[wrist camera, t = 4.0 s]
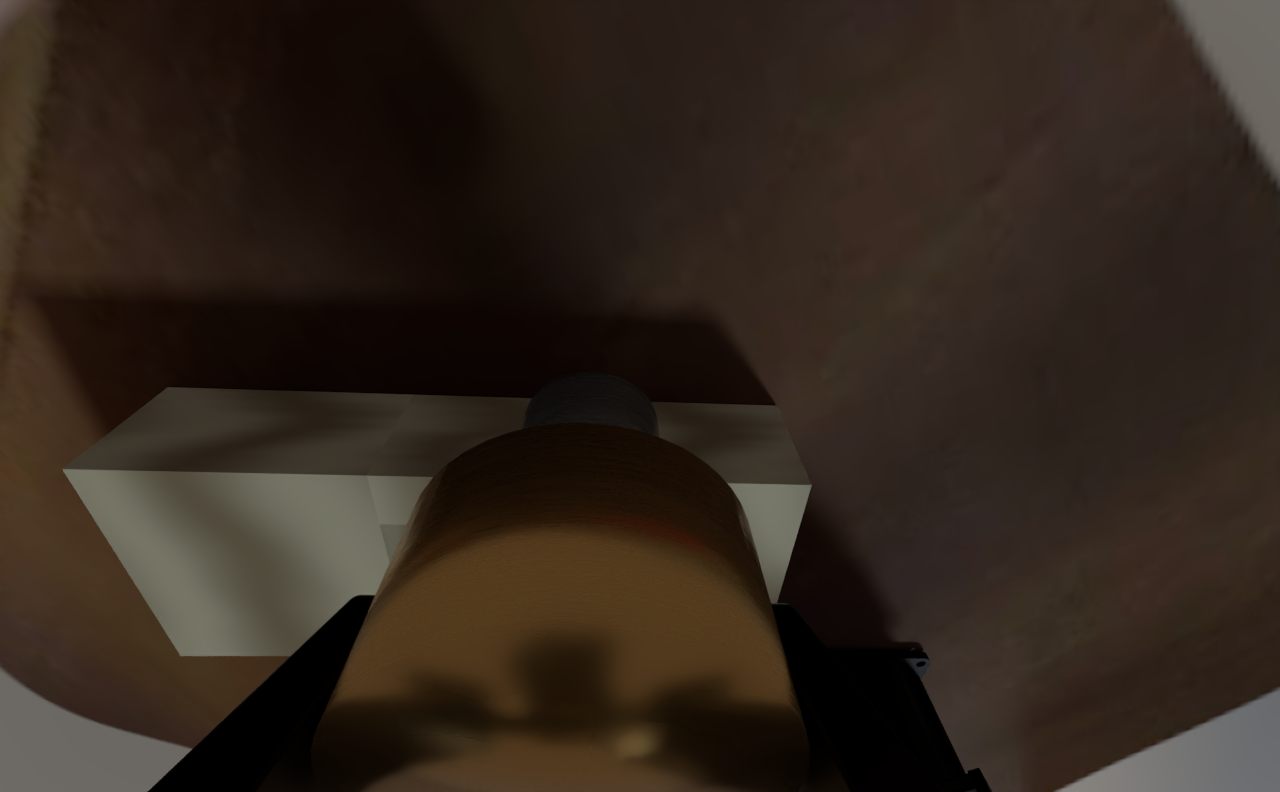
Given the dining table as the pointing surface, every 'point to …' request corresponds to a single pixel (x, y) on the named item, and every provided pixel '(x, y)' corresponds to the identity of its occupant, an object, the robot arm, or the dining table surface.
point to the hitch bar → (342, 497)
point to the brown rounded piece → (569, 623)
